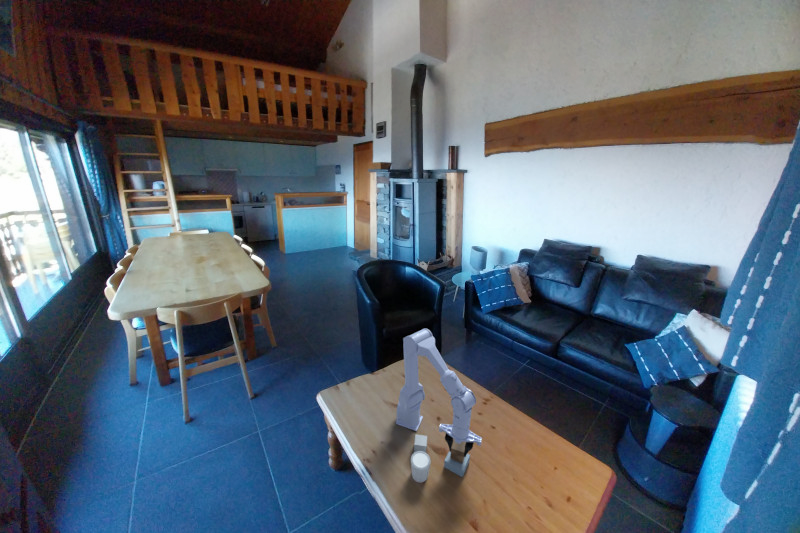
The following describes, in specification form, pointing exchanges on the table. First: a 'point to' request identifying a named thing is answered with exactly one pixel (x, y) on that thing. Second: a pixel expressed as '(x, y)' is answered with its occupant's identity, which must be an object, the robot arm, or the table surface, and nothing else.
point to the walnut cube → (457, 451)
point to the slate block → (456, 464)
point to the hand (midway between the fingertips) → (458, 451)
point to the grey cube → (420, 443)
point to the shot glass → (420, 466)
